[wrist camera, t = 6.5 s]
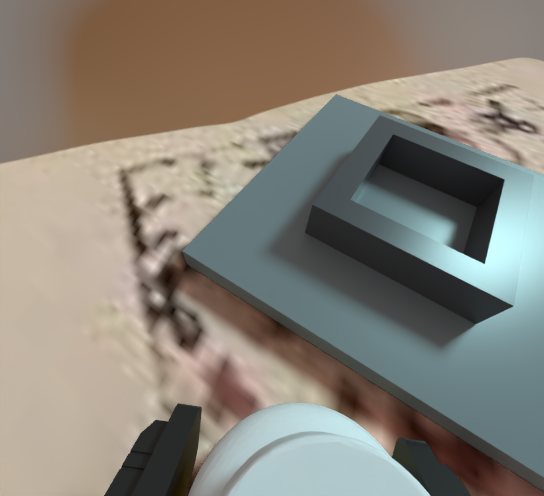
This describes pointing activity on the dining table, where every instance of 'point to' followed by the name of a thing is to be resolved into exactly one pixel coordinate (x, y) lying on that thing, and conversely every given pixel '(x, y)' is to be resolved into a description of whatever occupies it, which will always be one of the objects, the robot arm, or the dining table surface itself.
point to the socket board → (401, 270)
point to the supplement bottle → (301, 458)
